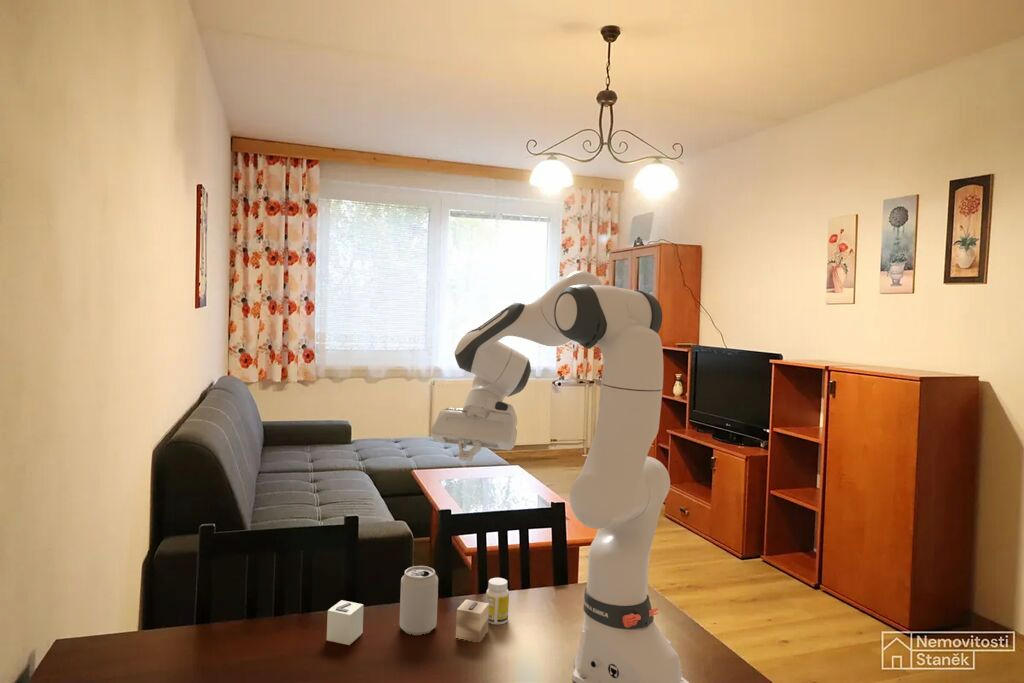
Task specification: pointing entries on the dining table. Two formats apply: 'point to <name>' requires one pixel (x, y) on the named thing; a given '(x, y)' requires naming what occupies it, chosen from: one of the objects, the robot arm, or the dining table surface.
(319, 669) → the dining table surface
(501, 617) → the supplement bottle
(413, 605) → the can
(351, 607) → the cream white block seven
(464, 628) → the birch block one
